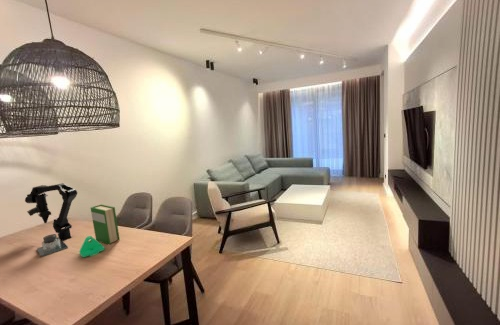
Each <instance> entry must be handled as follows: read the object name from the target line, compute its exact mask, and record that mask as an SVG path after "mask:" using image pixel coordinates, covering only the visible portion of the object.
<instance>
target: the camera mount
mask: <svg viewBox="0 0 500 325" xmlns="http://www.w3.org/2000/svg"><path fill="white" fill-rule="evenodd" d="M102 251H105V246H104V245H103V244H102V243H100V241H97V240H96V238H94V237H93V236H91V235H89V236H86V237H85V239H84V241H83V243H82V245H81V247H80V250H79V251H78V252H79V255H80V256H81V257H82V258H85V257H92V255H93V256H95V255H97V254H98V255H99V253H100V252H102Z"/></svg>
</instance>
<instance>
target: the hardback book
mask: <svg viewBox="0 0 500 325" xmlns="http://www.w3.org/2000/svg"><path fill="white" fill-rule="evenodd" d="M90 212H91V218H92V224H93V230H94V237H95V240H98V242H99V243H100V242H101V243H103V244H105V243H106V245H108V244H110V245H111V244H112V243H114V242H116V241H117V240H119V241H120V233H119V227H118V220H117V214H116V208H115V206H111V205H106V204H99V205H98V204H97V205H95V206H91V207H90Z"/></svg>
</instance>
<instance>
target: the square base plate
mask: <svg viewBox="0 0 500 325" xmlns="http://www.w3.org/2000/svg"><path fill="white" fill-rule="evenodd" d="M41 245H42V246H40V247H37V248H36V251H37V252H38V255H39V256H40V258H43V257H46V256H48V255H52V254H54V253H57V252H60V251H62V250H67V249H69V246H68V245H67V244H66V243H65V242H64V240H62V241H61V240H60V239H59V238H58V237H57V240H55V241H53V242H49V243H44V240H43V241H42V242H41Z"/></svg>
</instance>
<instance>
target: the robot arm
mask: <svg viewBox="0 0 500 325" xmlns="http://www.w3.org/2000/svg"><path fill="white" fill-rule="evenodd" d="M52 191H58V193H59V195H60V196H61V198H62V200H63V201H62V204H61V208H60V211H59V214H58V217H56V218H54V219H53V222H52V225H53V226H52V227H53V229H54V232H55V234H57V238H59V239H60V241H65V240H67V239H68V240H69V239H71V238H72V236H71V231H70V230H71V229H72V227H73V225H72V224H71V223H69V220H68V215H69V213H70V212H69V211H70V209H71V206H72V203H73V201H74V200H75V199H76V197H77V195H78V191H77V189H75V188H73V187H72V186H69V185H67V184H66V183H62V182H61V183H58V184H52V185H43V184H42V185H38V186H33V187H32V188H31V191H30V193H28V194H26V196H25V199H24V202H25V203H26V204H36V205H35V207H33V208H31V209H29V210H27V211H26V212H27V214H28V215H29V216H30V217H32V216H33V215H34V214H37V215H38V217H40V218H41V219H42V220H43V223H44V224H47V223H48V220H49V216H50V215H51V216H52V211H50V210H49V208H48V207H49V206H48V202H47V198H46V197H48V196H49V195H48V194H47V192H52Z"/></svg>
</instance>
